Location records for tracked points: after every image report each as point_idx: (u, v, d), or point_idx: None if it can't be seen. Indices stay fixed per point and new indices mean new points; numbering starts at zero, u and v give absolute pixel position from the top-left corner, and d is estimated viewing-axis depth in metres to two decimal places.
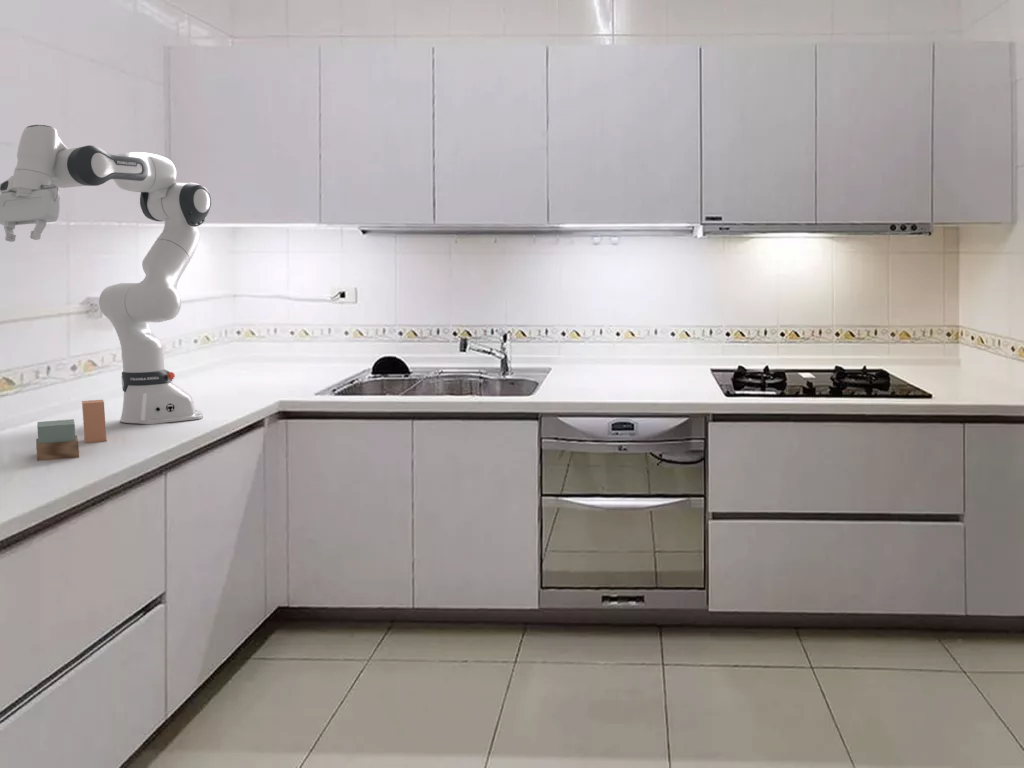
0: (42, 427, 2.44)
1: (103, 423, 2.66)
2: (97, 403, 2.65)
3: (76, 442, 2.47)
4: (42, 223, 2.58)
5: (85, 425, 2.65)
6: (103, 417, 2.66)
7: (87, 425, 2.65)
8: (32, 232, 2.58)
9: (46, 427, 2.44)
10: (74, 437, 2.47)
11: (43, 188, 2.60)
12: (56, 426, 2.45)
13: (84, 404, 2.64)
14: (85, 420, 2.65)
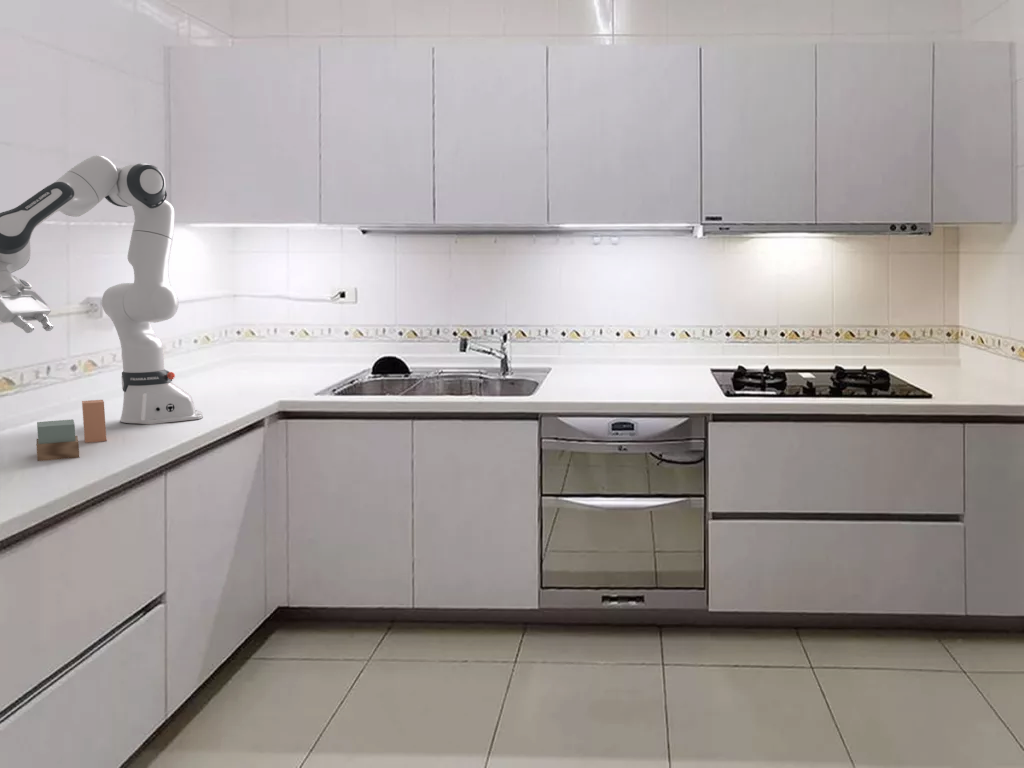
0: (42, 427, 2.44)
1: (103, 423, 2.66)
2: (97, 403, 2.65)
3: (76, 442, 2.46)
4: (16, 319, 2.59)
5: (85, 425, 2.65)
6: (103, 417, 2.66)
7: (87, 425, 2.65)
8: None
9: (46, 427, 2.44)
10: (74, 437, 2.47)
11: None
12: (56, 426, 2.45)
13: (84, 404, 2.64)
14: (85, 420, 2.65)
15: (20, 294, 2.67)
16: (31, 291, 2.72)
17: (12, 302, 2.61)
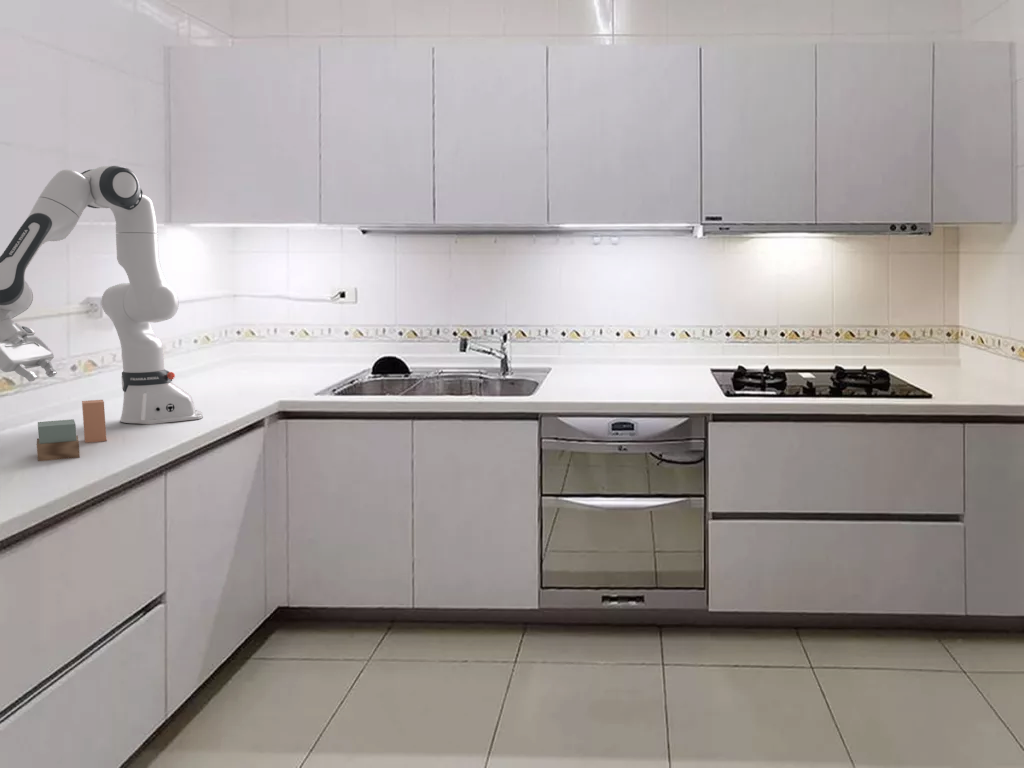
0: (43, 427, 2.44)
1: (103, 423, 2.66)
2: (97, 403, 2.65)
3: (77, 442, 2.46)
4: (18, 368, 2.61)
5: (85, 425, 2.65)
6: (103, 417, 2.66)
7: (87, 425, 2.65)
8: None
9: (47, 427, 2.44)
10: (75, 437, 2.47)
11: None
12: (57, 426, 2.45)
13: (84, 404, 2.64)
14: (85, 420, 2.65)
15: (22, 342, 2.68)
16: (34, 337, 2.74)
17: (14, 351, 2.62)
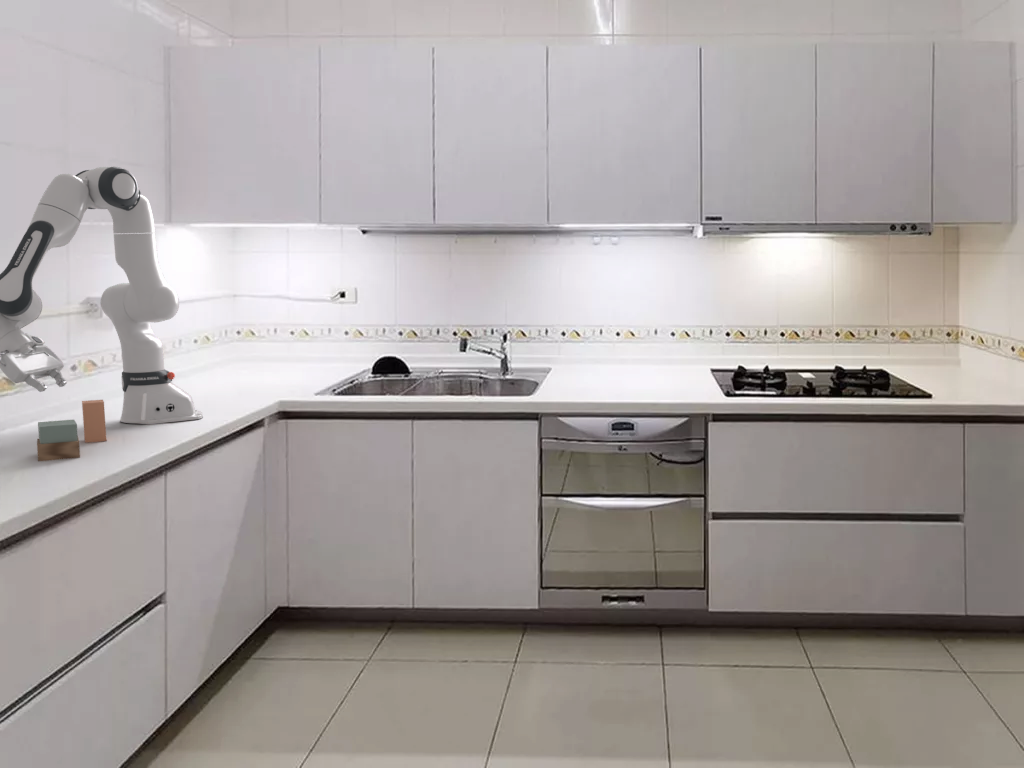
0: (44, 427, 2.44)
1: (103, 423, 2.66)
2: (97, 403, 2.65)
3: (77, 442, 2.46)
4: (28, 379, 2.61)
5: (85, 425, 2.65)
6: (103, 417, 2.66)
7: (87, 425, 2.65)
8: None
9: (48, 427, 2.44)
10: (76, 437, 2.47)
11: None
12: (58, 426, 2.45)
13: (84, 404, 2.64)
14: (85, 420, 2.65)
15: (32, 352, 2.69)
16: (43, 347, 2.74)
17: (24, 361, 2.63)
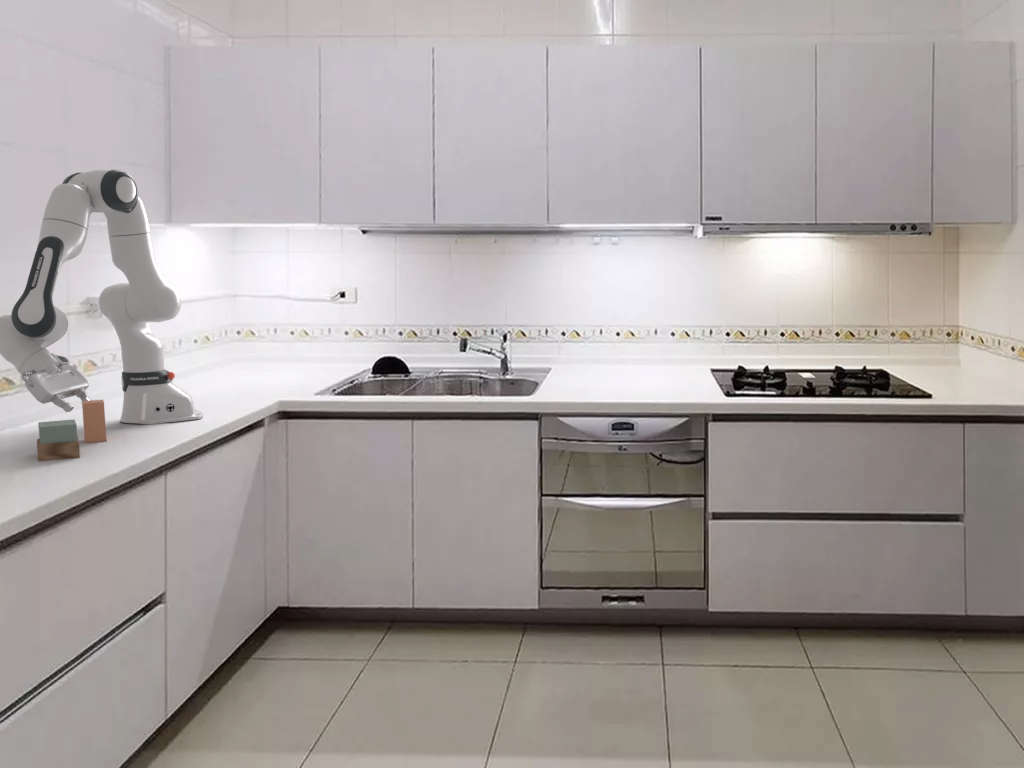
0: (44, 427, 2.44)
1: (103, 423, 2.66)
2: (97, 403, 2.65)
3: (77, 442, 2.46)
4: (55, 399, 2.61)
5: (85, 425, 2.65)
6: (103, 417, 2.66)
7: (87, 425, 2.65)
8: None
9: (48, 427, 2.44)
10: (76, 437, 2.47)
11: None
12: (58, 426, 2.45)
13: (84, 404, 2.64)
14: (85, 420, 2.65)
15: (59, 371, 2.69)
16: (69, 366, 2.74)
17: (51, 382, 2.63)
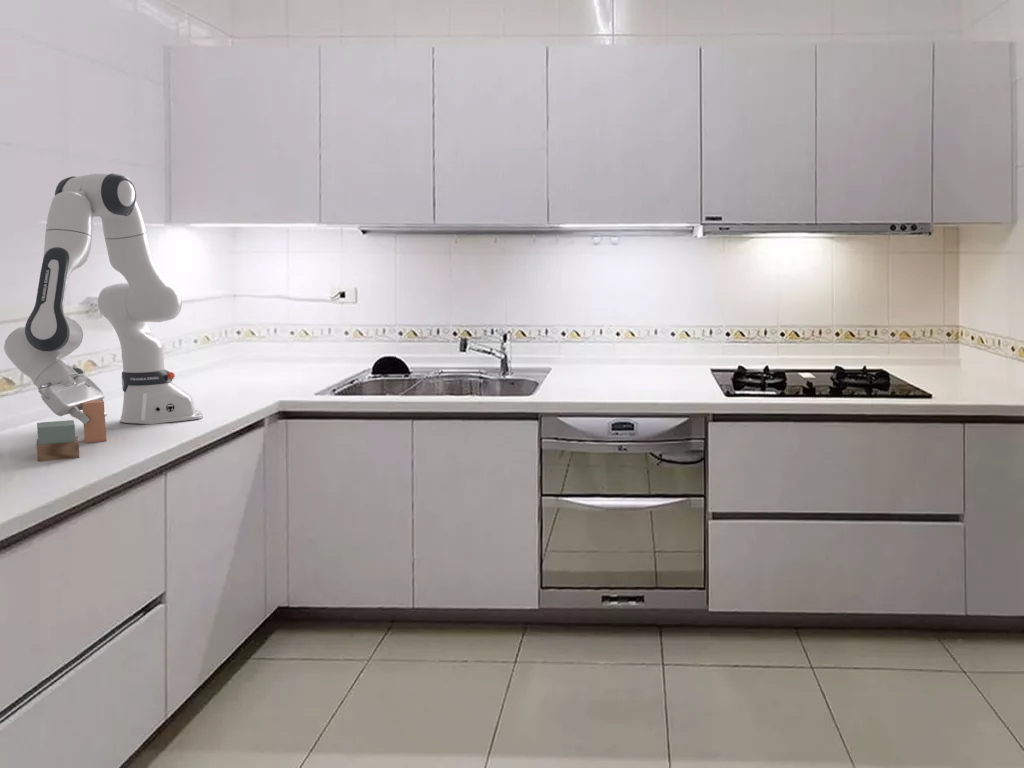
0: (42, 428, 2.43)
1: (103, 423, 2.66)
2: (97, 403, 2.65)
3: (76, 443, 2.46)
4: (73, 411, 2.62)
5: (85, 425, 2.65)
6: (103, 417, 2.66)
7: (87, 425, 2.65)
8: None
9: (46, 428, 2.43)
10: (74, 438, 2.46)
11: None
12: (56, 427, 2.44)
13: (84, 404, 2.64)
14: None
15: (74, 383, 2.69)
16: (85, 378, 2.74)
17: (67, 394, 2.63)
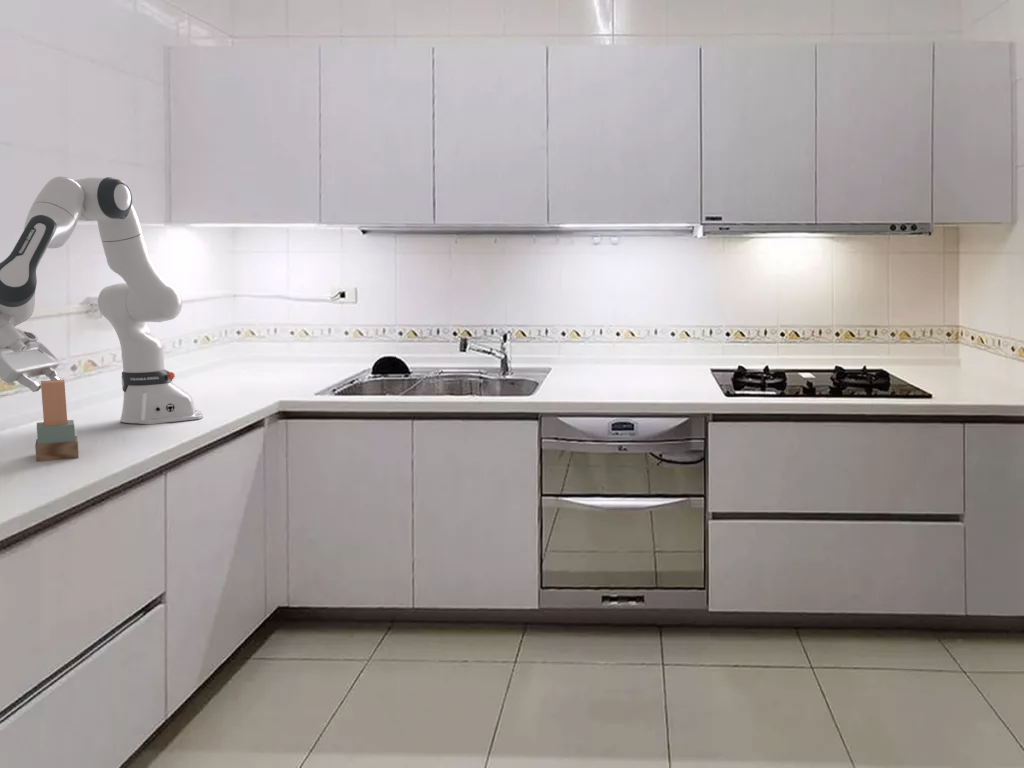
0: (41, 428, 2.43)
1: (64, 405, 2.46)
2: (57, 383, 2.45)
3: (75, 443, 2.46)
4: (21, 378, 2.41)
5: (44, 407, 2.44)
6: (64, 398, 2.46)
7: (46, 407, 2.44)
8: None
9: (45, 428, 2.43)
10: (74, 438, 2.46)
11: None
12: (55, 427, 2.44)
13: (43, 384, 2.44)
14: (44, 401, 2.44)
15: (25, 348, 2.48)
16: (37, 343, 2.54)
17: (16, 359, 2.42)
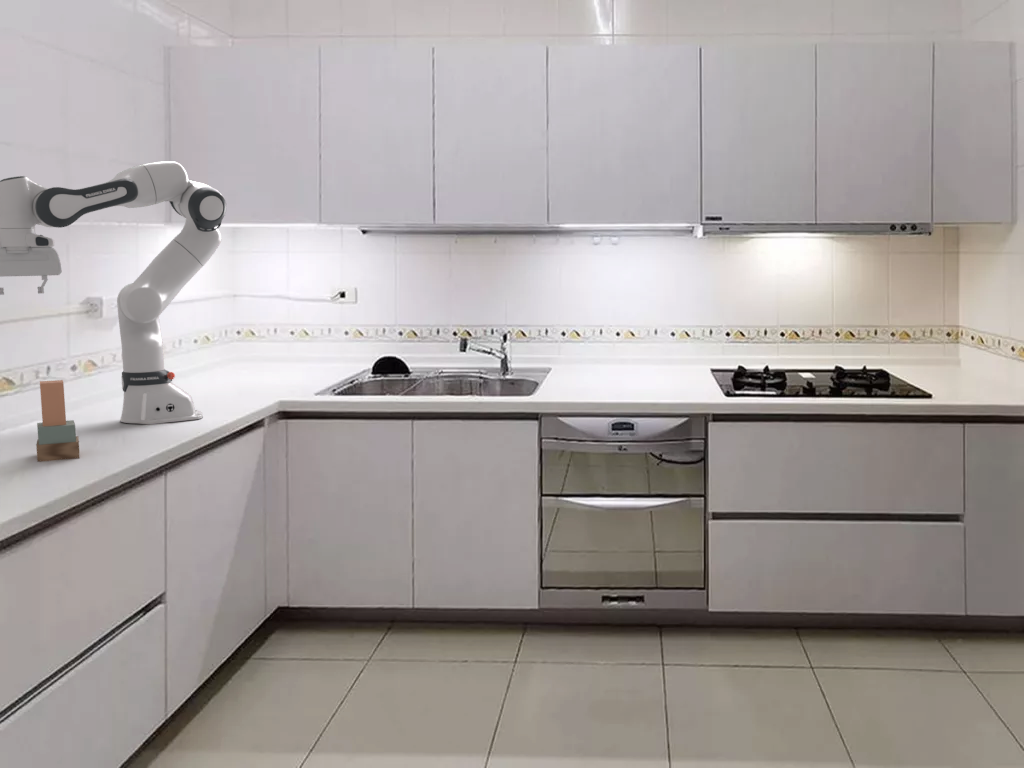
0: (42, 428, 2.43)
1: (62, 405, 2.45)
2: (56, 383, 2.44)
3: (76, 443, 2.46)
4: None
5: (43, 407, 2.44)
6: (62, 399, 2.45)
7: (45, 408, 2.44)
8: None
9: (46, 428, 2.43)
10: (74, 438, 2.46)
11: None
12: (56, 427, 2.44)
13: (41, 384, 2.43)
14: (43, 402, 2.43)
15: (23, 253, 2.70)
16: (47, 250, 2.72)
17: None
